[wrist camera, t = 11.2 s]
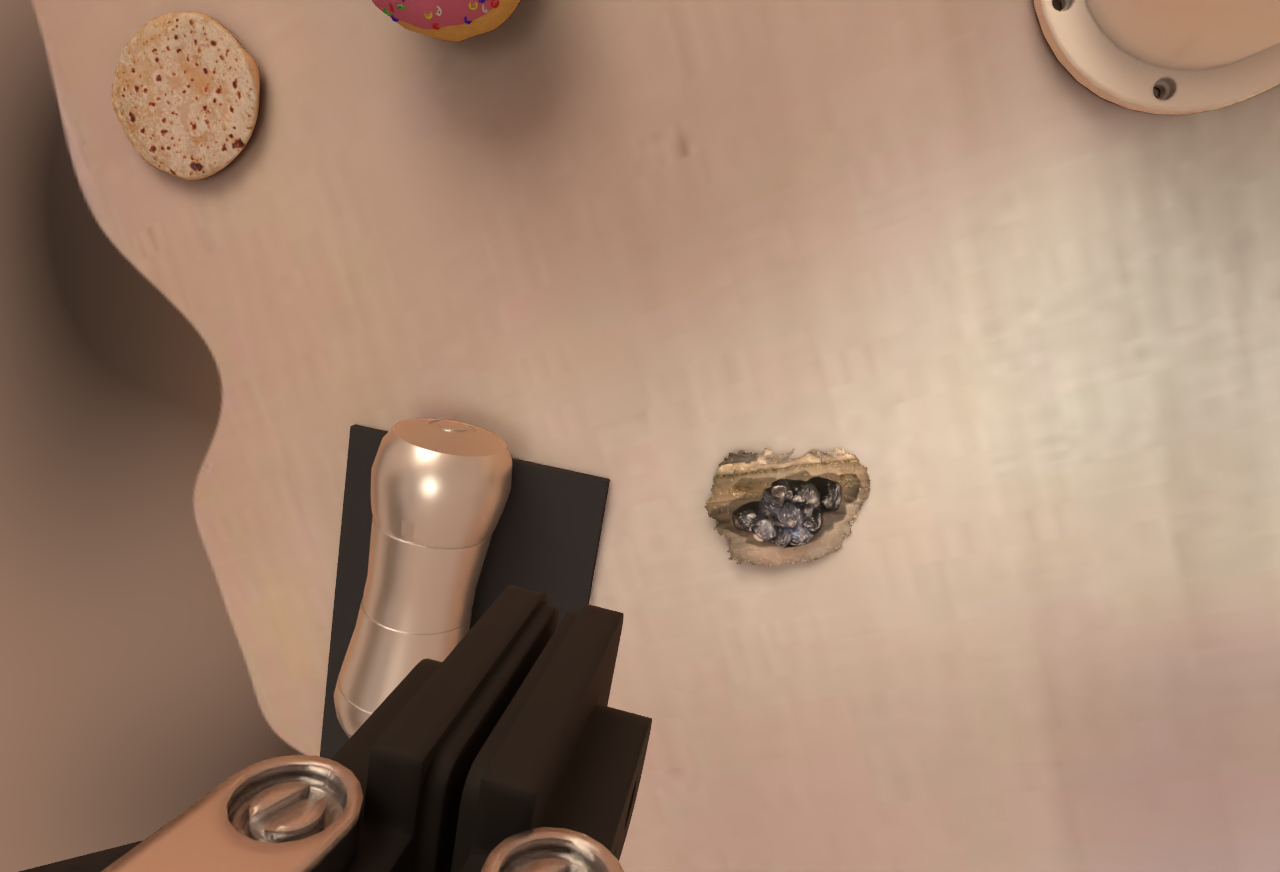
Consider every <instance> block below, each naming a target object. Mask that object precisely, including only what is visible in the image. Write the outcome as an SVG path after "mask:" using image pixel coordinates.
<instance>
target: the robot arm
mask: <svg viewBox="0 0 1280 872" xmlns="http://www.w3.org/2000/svg"><path fill="white" fill-rule="evenodd" d="M1053 1H1055V0H1034V7H1035V10H1036V14H1037V17H1038V20H1039V23H1040V26H1041V29H1042V32H1043V35H1044V37H1045V39H1046V40H1047V42H1048V44H1049V45H1050V47H1051V49H1052V51H1053V52H1054V54H1055V56H1056V57H1057V59H1058V61H1059V62H1060V63H1061V64H1062V65H1063V66H1064V67H1065V68H1066V69H1067V70H1068V71H1069V73H1070V74H1071V75H1072V76H1073V77H1074V78H1075V79H1076V80H1077V81H1078V82H1079V83H1081V84H1082V85H1084V86H1085V87H1087V88H1088V89H1089V90H1091V91H1092V92H1094V93H1095V94H1097V95H1098V96H1099V97H1101V98H1103V99H1106V100H1108V101H1111V102H1113V103H1115V104H1118V105H1120V106H1122V107H1125V108H1127V109H1132V110H1137V111H1143V112H1148V113H1153V114H1192V113H1198V112H1203V111H1209V110H1214V109H1220V108H1222V107H1225V106H1228V105H1231V104H1234V103H1238V102H1241V101H1244V100H1247V99H1249V98H1251V97H1253V96H1255V95H1257V94H1260V93H1262V92H1264V91H1266V90H1268V89H1271V88H1273V87H1275V86H1277V85H1279V84H1280V0H1058V1H1060V2H1061V4H1062V9H1061V11H1057V10H1055V9H1054V7H1053V6H1052V2H1053ZM1153 87H1157V88H1159V89H1160V91H1161V95H1160V97H1159V98H1156V97H1155V96H1154V94H1153ZM558 615H559V609H558V607H555V606H551V605H548V596H547V594H545V593H541V592H537V591H533V590H529V589H525V588H521V587H517V586H513V585H508V586H507V587H506V588H505V589H504V590H503V592H502V593H501V594H500V595H499V596H498V597H497V599H496V600H495V601H494V602H493V603H492V605H491V606H490V607H489V608H488V609H487V610H486V612H485V613H484V614H483V615H482V616H481V617H480V619H479V620H478V621H477V622H476V623H475V625H474V626H473V627H472V628H471V629H470V630H469V632H468V633H467V634H466V635H465V636H464V637H463V639H462V640H461V641H460V642H459V643H458V644H457V646H456V647H455V648H454V649H453V650H452V652H451V653H450V654H449V655H448V656H447V657H446V659H445V660H444V661H443V662H440V661H436V660H432V659H429V658H428V659H423V660H421V661H420V662H419V663H418V664H417V665H416V666H415V667H414V668H413V669H412V670H411V671H410V672H409V674H408V675H407V676H406V677H405V678H404V679H403V680H402V681H401V682H400V684H399V685H398V686H397V687H396V688H395V689H394V690H393V691H392V692H391V693H390V695H389V696H388V697H387V698H386V699H385V700H384V701H383V702H382V703H381V704H380V706H379V707H378V708H377V709H376V710H375V711H374V712H373V713H372V714H371V715H370V717H369V718H368V719H367V720H366V721H365V722H364V723H363V724H362V725H361V726H360V728H359V729H358V730H357V731H356V732H355V733H354V734H353V735H352V736H351V738H350V739H349V740H348V741H347V742H346V743H345V744H344V745H343V746H342V747H341V749H340V750H339V751H338V752H337V753H336V754H335V755H334V756H333V757H332V758H331V760H329V759H326V758H322V757H319V756H307V755H290V756H283V757H275V758H271V759H268V760H265V761H262V762H259V763H256V764H252V765H251V766H249V767H247V768H245V769H243V770H242V771H240V772H238V773H236V774H235V775H233V776H231V777H230V778H229V779H227V780H226V781H225V782H223V783H222V784H220V785H219V786H218V787H216V788H215V789H214V790H212V791H211V792H209V793H208V794H207V795H205V796H204V797H203V798H201V799H200V800H198V801H197V802H196V803H194V804H193V805H192V806H190V807H189V808H188V809H186V810H185V811H183V812H182V813H181V814H179V815H178V816H177V817H175V818H174V819H173V820H171V821H170V822H168V823H167V824H166V825H164V826H163V827H161V828H160V829H159V830H157V831H156V832H154V833H153V834H152V835H150V836H149V837H148V838H146V839H145V840H143V841H139V842H135V843H131V844H127V845H123V846H120V847H115V848H111V849H107V850H104V851H99V852H96V853H91V854H87V855H84V856H79V857H75V858H72V859H67V860H63V861H59V862H55V863H52V864H48V865H44V866H40V867H36V868H32V869H28V870H24V871H20V872H624V871H623V869H622V867H621V865H620V863H619V859H620V856H621V852H622V849H623V845H624V842H625V838H626V835H627V831H628V828H629V824H630V820H631V816H632V812H633V808H634V804H635V800H636V796H637V792H638V787H639V783H640V778H641V774H642V769H643V764H644V760H645V755H646V750H647V745H648V740H649V735H650V730H651V724H652V718H648V717H644V716H641V715H637V714H633V713H629V712H626V711H622V710H618V709H615V708H611V707H607V705H608V699H609V694H610V689H611V683H612V678H613V673H614V668H615V662H616V657H617V652H618V646H619V641H620V636H621V630H622V625H623V613H620V612H616V611H612V610H608V609H604V608H600V607H596V606H592V605H588V604H585V605H584V607H583V608H582V610H581V612H580V613H578V612H574V611H570V610H568V612H567V613H566V614H565V616H564V618H563V619H562V621H561V622H560V624H559V626H558V627H557V622H558Z"/></svg>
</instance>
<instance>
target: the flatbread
mask: <svg viewBox="0 0 1280 872" xmlns="http://www.w3.org/2000/svg"><path fill="white" fill-rule="evenodd" d="M259 93H260V74H259V69H258V66H257V64H256V61H255V60H254V59H253V57H252V56H251V55H249V54H248V53H247V52H246V51H245V50H244V48H243V47H242V46H241V45H240V44H239V42H238V41H237V40H236V39H235V38H234V37H233V36H232V35H231V34H230V32H229V31H227V30H226V29H225V28H224V27H223V26H222V25H221V24H220V23H218V22H217V21H216V20H214V19H213V18H211V17H209V16H207V15H204V14H202V13H197V12H184V13H168V14H165V15H163V16H160V17H158V18H155V19H153V20H152V21H150V22H149V23H148V24H146V25H145V26H144V27H143V28H142V29H141V30H140V31H139V32H138V33H137V34H136V35H135V36H134V38H133V39H132V40H131V41H130V42H129V43H128V44H127V46H126V47H125V48H124V50H123V52H122V54H121V57H120V59H119V63H118V66H117V68H116V72H115V76H114V81H113V84H112V98H113V107H114V110H115V112H116V115H117V117H118V119H119V121H120V123H121V125H122V127H123V129H124V131H125V133H126V135H127V137H128V138H129V140H130V141H131V143H132V144H133V146H134V147H135V149H136V150H137V152H138V153H139V154H140V155H141V157H142V158H143V159H144V160H145V161H146V162H148V163H149V164H150V165H152V166H153V167H155V168H157V169H159V170H162V171H164V172H166V173H169V174H171V175H174V176H176V177H179V178H182V179H185V180H199V179H203V178H206V177H209V176H211V175H213V174H215V173H217V172H218V171H220V170H222V169H223V168H225V167H226V166H227V165H228V164H229V163H231V162H232V161H233V160H234V159H235V158H236V157H237V156H238V155H239V154H240V152H241V151H242V150H243V148H244V147H245V146H246V144H247V143H248V141H249V139H250V137H251V135H252V132H253V130H254V127H255V124H256V121H257V116H258V110H259Z"/></svg>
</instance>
